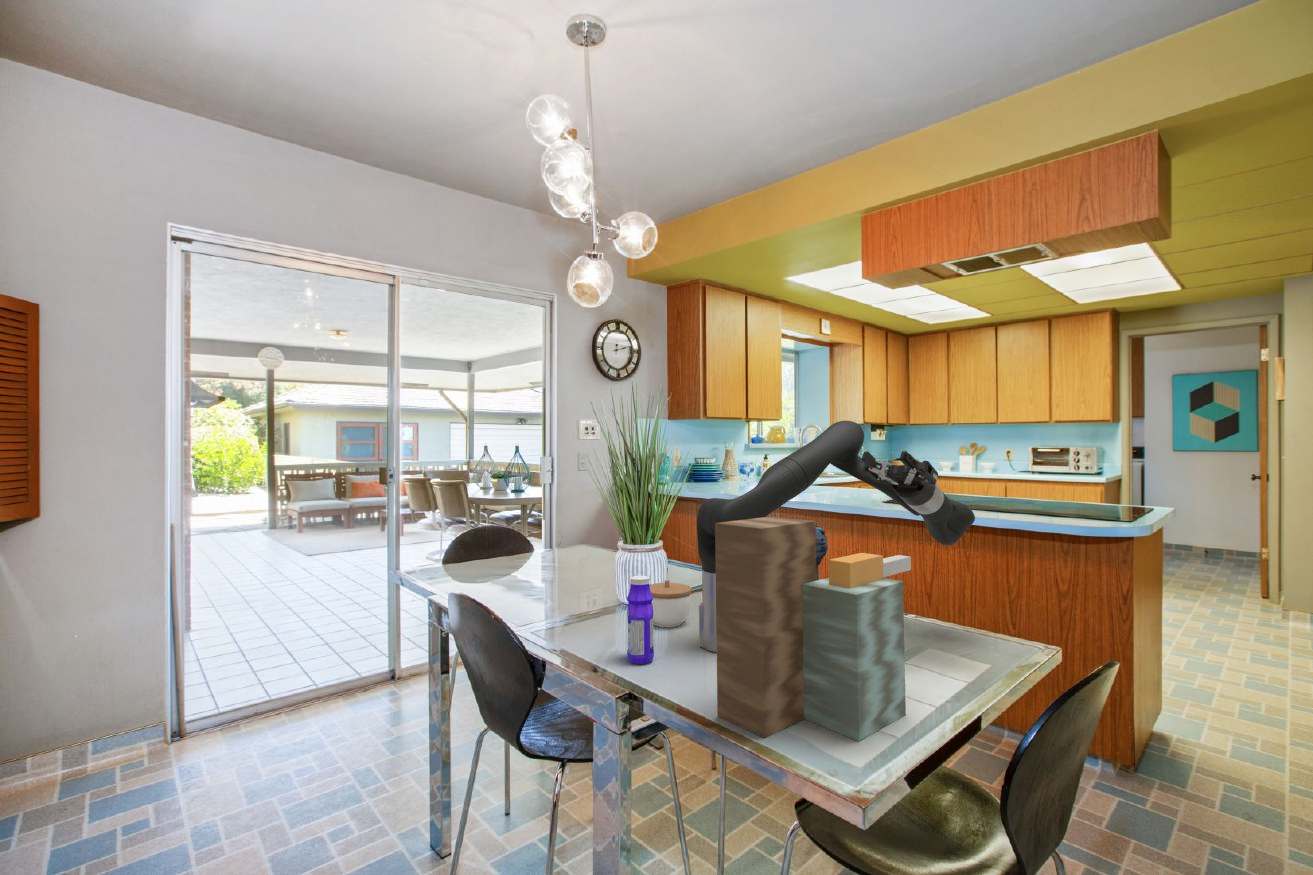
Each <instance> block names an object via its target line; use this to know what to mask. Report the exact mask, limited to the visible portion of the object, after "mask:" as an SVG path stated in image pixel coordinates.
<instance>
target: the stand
mask: <svg viewBox="0 0 1313 875" xmlns="http://www.w3.org/2000/svg"><path fill="white" fill-rule="evenodd" d="M816 526H817V522H816V521H815V520H805V519H797V518H788V517H787V518H786V517H777V516H766V517H763V518H754V519H746V520H737V521H729V522H721V523H715V556H716V636H717V652H716V694H717V697H716V698H717V699H716V700H717V704H716V706H717V708H716V709H717V711H716V712H717V717H718V718H719V719H722V720H724V721H727V722H728V723H731V724H733V725H735V726H737V727H740V728H742V729H743V730H746V731H748V732H750V733H752V734H754V735H756V736H759V737H761V738H763V739H766V738H768V737H770V736H772V735H774V734H776V733H778V732H781V731H783V730H784V729H787V728H788V727H791V726H793V725H795V724H797V723H799V722H801V721H803V720H806V721H808V722H811V723H812V724H816V725H818V726H820V727H822V728H825V729H827V730H830V731H832V732H834V733H837V734H839V735H842V736H845V737H846V738H850V739H852V740H854V741H856V742H861V741H863V740H864V739H866V738H868V737H870V736H871V735H873V734H875V733H877V732H878V731H880V730H882V729H883V728H885V727H887V726H888V725H891V724H892V723H893V722H896V721H897V720H899V719H901V718H902V717H905V716H906V715H907V714H906V710H907V707H906V706H907V704H906V703H907V702H906V665H905V663H906V661H905V659H906V657H905V619H904V618H905V612H904V609H905V608H904V607H905V606H904V605H905V604H904V603H905V602H904V581H903V580H898V579H897V580H896V579H892V578H887V577H883V578H884V579H883V580H879V581H876V582H872V583H868V584H865V585H861V586H857V587H854V588H846V587H841V586H835V585H830V584H829V577H826V578H821V579H818V580H817V574H816Z"/></svg>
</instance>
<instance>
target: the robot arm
mask: <svg viewBox="0 0 1313 875" xmlns="http://www.w3.org/2000/svg"><path fill="white" fill-rule="evenodd" d="M864 441H865V431H864V430H863V428H862V426H861V425H860V424H858V423H857V422H855V421H852V420H840V421H836V422H834V423H832V424H831V425H830V426H828V427H827V428H826V429H825V430H823V431H822V432H821V433H820V434H819V435H818V436H816V437H815V438H814V439H813V440H811V441H809V442H808V443H806V444H805V445H803V446H801V447H800V448H798V449H797V450H795V451H794V452H791V454H788V455H787V456H785V457H783V458H782V459H779V460H777V462H775V463H773V464H772V465H770V467H768V468H766V470H765V471H764V472H763V474H762V476H761V477H760V479H759V481H758V483H757V484H756V485H755V486H754V487H753V488H752V489H750V490H749V491H747V492H745V493H743V494H742V495H740V496H737V497H735V498H722V497H721V498H720V497H719V498H718V497H712V498H708V499H706V500H704V501H703V502H702V503H701V504H700V506H699V509H698V510H697V515H696V539H697V540H696V541H697V552H698V553H697V554H698V556H699V560H700V561H701V576H702V577H701V588H702V593H701V594H702V599H701V600H702V602H701V603H699V605H698V634H699V635H698V637H699V639H698V641H699V642H698V643H699V645H698V646H699V648H703V649H705V650H707V651H709V652H713V653H717V636H716V556H715V523H721V522H729V521H737V520H746V519H754V518H763V517H768V516H769V515H770V514H771V513H773V512H775V511H776V510H778V509H779V508H780V507H782V506H783V505H785V504H786V503H788V502H789V501H791V500H792V499H794V498H796V497H797V496H799V495H800V494H801V493H803V492H804V491H806V490H807V489H808V488H809V487H810V486H812V485H813V484H814V483H815V481H817V479H819V477H820V476H821V475H822V474H823V473H824V471H825V470H826V469H827V468H828V467H829V465H831V466H833V467H835V468H837V469H838V470H840V471H842V472H844V473H846V474H848V475H849V476H852V477H854V478H855V479H857V480H859V481H861V482H863V483H865V484H867V485H869V486H871V487H872V488H874V489H876V490H878V491H879V492H882V493H883V494H884V495H886V496H887V497H889V498H890V499H892V500H893V501H894V502H896V503H897V504H898V505H900V506H901V507H902V508H904V509H905V510H906V511H909V513H911V514H912V515H913V516H916V517H917V516H920V517H922V519H923V522H924V524H925V528H926V529H927V532H928V533H929V536H931V538H932V539H933V540H934V541H935V542H937V543H938V544H940V545H942V546H953V545H955V544H957V543H958V541H959V540H960V539H961V538H962V537H963V535H965V533H966V532H967V531H968V530H969V528H970V527H971V526H972V525H973V524H974V523H975V521H976V516H975V515H976V514H975V513H974V511H973V510H972V508H970V507H969V506H968V505H966V504H964V503H961V502H960V501H957V500H954V499H950V498H949V497H948V496H947V495H946V494H945V493H944V492H943V491H942V490H941V488H940V485H938V484H937V482H938V481H937V480H938V476H939V472H938V471H937V470H936V469H935V467H934V466H933V465H932V463H931V462H930V461H929V460H922V461H920V460H919V459H917V458H915V457H914V456H913V455H912V454H910V453H909V452H907V450H902V451H901V453H900V456H899V460H900V462H901V463H902V464H899V465H898V464H893V463H890V462H889V461H886V460H884V461H880V460H877V459H876V458H875V456H873V455H872V454H871V452H869V451H866V450H865V451H864V452H863V453H862V456H860V455H859V453H861V452H860V451H861V449H862V447H863V444H864ZM877 465H878V466H877ZM886 467H888V468H886Z"/></svg>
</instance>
